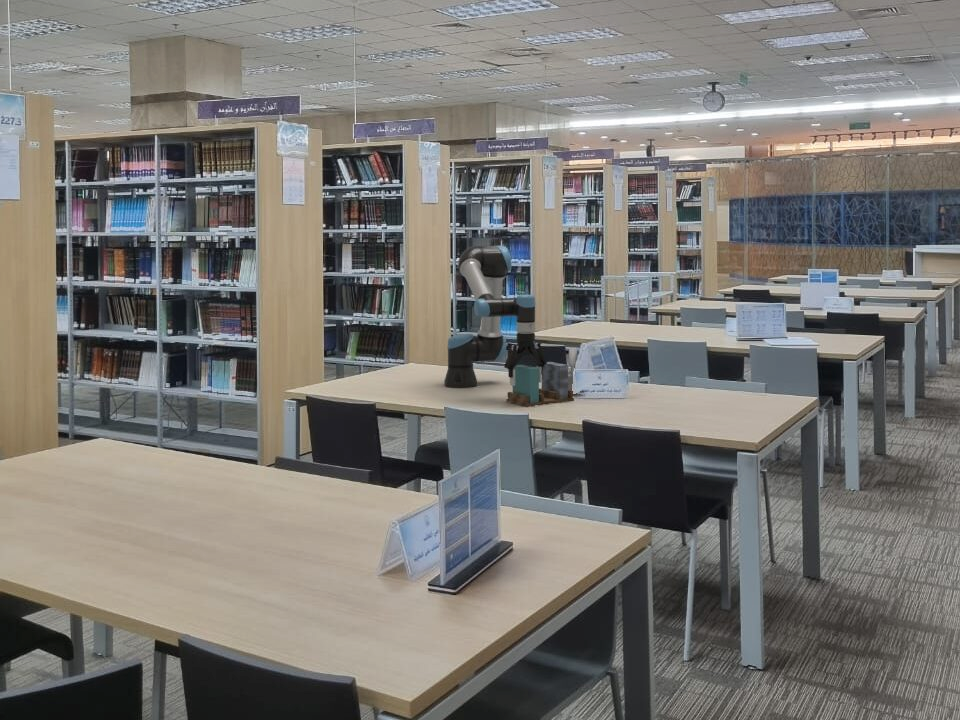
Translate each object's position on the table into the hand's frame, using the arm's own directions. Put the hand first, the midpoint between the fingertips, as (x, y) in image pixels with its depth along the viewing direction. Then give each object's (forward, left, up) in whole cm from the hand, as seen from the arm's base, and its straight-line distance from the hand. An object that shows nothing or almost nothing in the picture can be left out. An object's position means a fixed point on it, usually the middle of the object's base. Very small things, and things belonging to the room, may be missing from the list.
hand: (525, 383), depth 405 cm
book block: (0, 0, -7) cm, 7 cm away
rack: (0, +8, -8) cm, 11 cm away
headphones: (-7, +32, -8) cm, 34 cm away
